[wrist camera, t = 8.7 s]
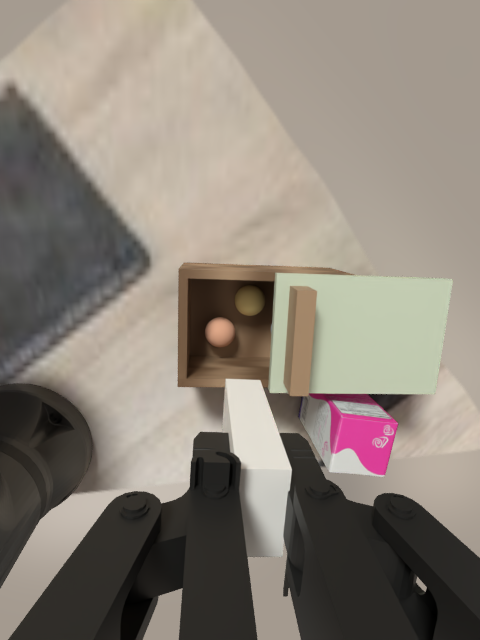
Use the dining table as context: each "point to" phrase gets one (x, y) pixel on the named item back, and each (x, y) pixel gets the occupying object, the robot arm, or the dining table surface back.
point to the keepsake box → (219, 301)
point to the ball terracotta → (220, 332)
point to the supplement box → (349, 432)
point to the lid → (357, 334)
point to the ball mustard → (249, 300)
